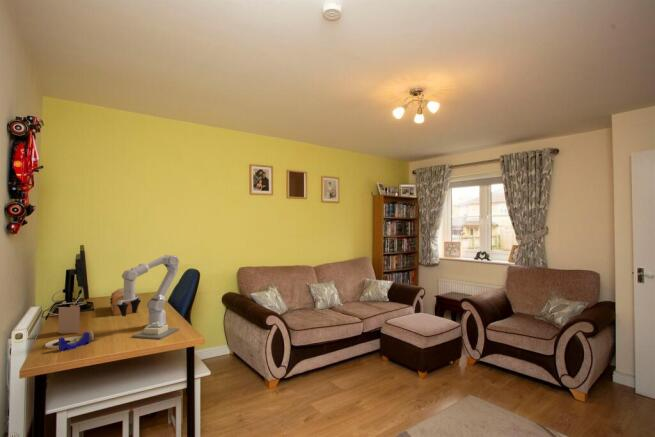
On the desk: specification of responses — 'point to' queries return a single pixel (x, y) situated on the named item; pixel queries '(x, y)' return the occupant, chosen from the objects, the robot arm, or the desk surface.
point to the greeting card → (69, 319)
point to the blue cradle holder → (83, 341)
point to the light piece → (68, 340)
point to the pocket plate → (155, 332)
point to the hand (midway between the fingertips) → (129, 314)
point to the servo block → (155, 325)
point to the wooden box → (117, 297)
